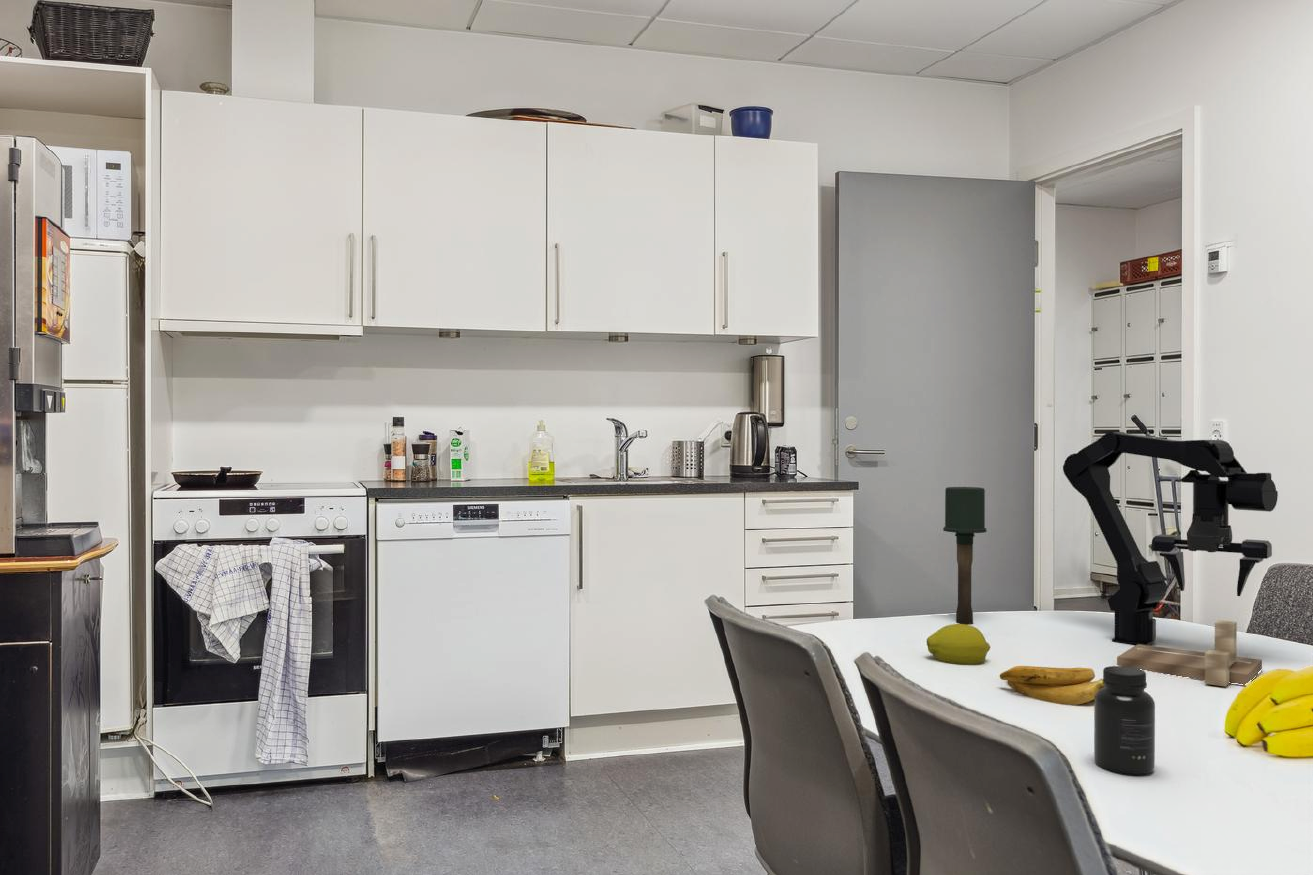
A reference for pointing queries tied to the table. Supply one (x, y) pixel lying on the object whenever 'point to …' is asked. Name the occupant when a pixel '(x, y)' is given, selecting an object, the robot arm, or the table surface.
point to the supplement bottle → (1124, 722)
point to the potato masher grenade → (964, 538)
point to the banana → (1054, 683)
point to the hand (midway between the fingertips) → (1210, 593)
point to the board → (1184, 663)
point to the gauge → (1221, 654)
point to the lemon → (958, 645)
